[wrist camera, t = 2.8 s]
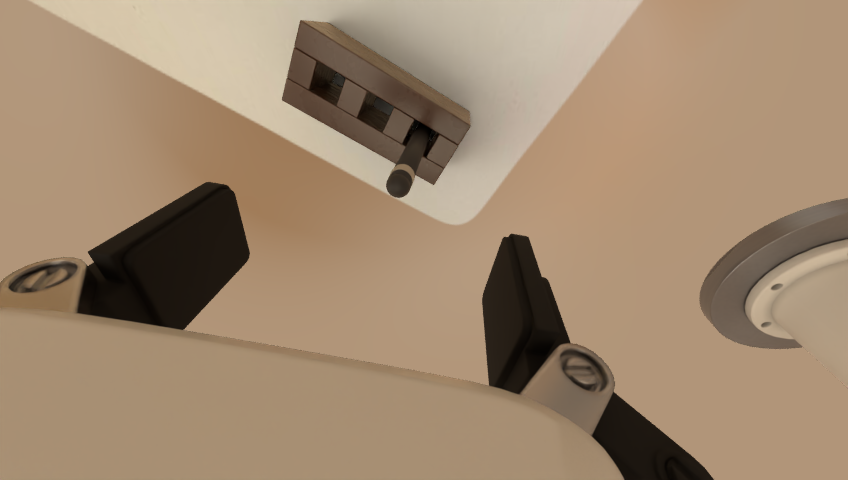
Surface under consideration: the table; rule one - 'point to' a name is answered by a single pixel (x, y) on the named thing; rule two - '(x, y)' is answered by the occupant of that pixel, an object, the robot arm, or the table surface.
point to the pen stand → (370, 98)
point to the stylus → (408, 162)
